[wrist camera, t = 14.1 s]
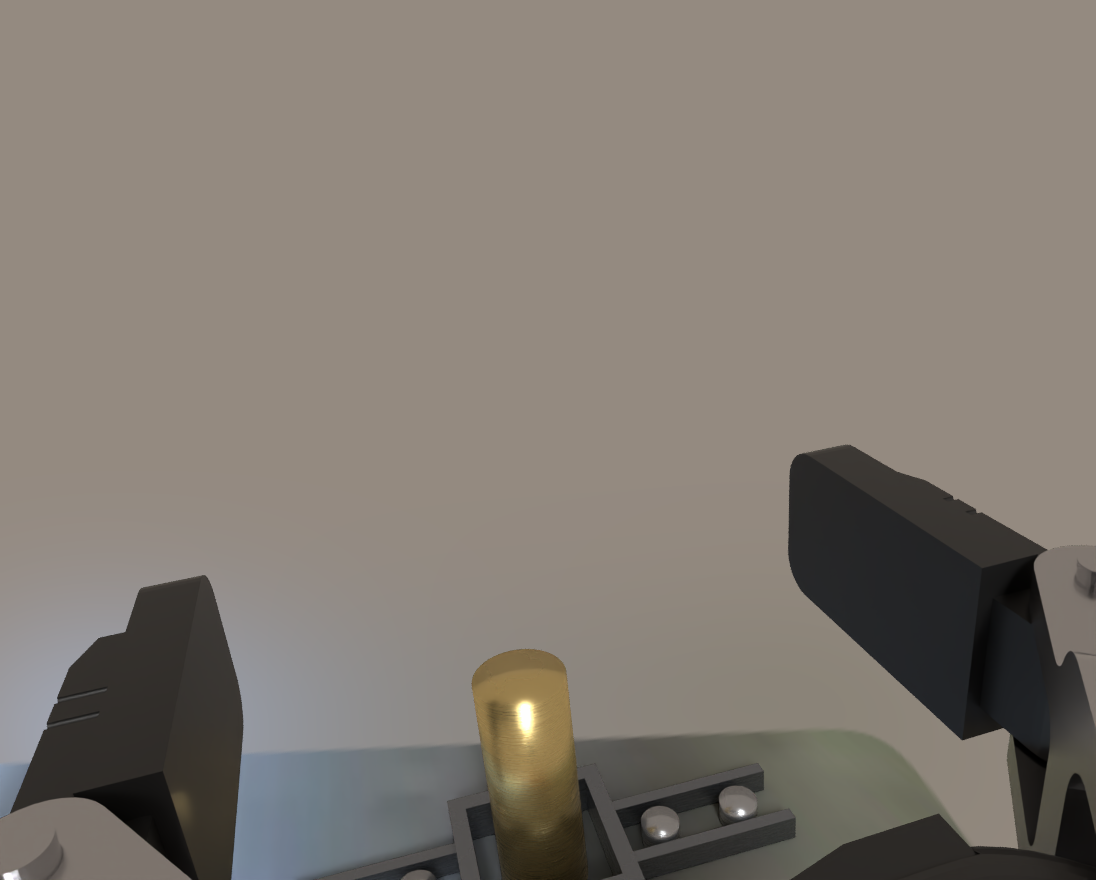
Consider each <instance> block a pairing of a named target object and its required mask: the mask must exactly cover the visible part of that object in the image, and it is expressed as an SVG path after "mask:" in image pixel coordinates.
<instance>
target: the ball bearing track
mask: <svg viewBox="0 0 1096 880" xmlns="http://www.w3.org/2000/svg"><path fill="white" fill-rule="evenodd" d="M577 774H578V783H579V792H580V802H581V811H584V810H588V811H589V814H590V816H591V819H592V822H593V824H594V827H595V829H596V832H597V834H598V837H599V840H600V842H601V845H602V847H603V850H604V853H605V855H606V858H607V860H608V863H609V865H610V868H611V871H612V873H613V877H609V878H605V879H602V880H646V879H650V878H653V877H657V876H660V875H664V874H667V873H671V872H674V871H678V870H681V869H685V868H689V867H692V866H696V865H699V864H703V863H706V862H710V861H713V860H717V859H720V858H724V857H727V856H731V855H734V854H738V853H741V852H745V851H748V850H752V849H756V848H759V847H763V846H766V845H770V844H773V843H777V842H780V841H784V840H787V839H791V838H794V837H795V821H796V818H795V816H794V815H793V813H792V812H791V810H790V809H785V810H781V811H778V812H774V813H770V814H767V815H763V816H760V817H757V797H756V795H755V794H754V793H753V792H757V791H761V790H764V771H763V769H762V768H761V767H760V765H759V764H758V763H756V764H752V765H748V766H745V767H741V768H737V769H733V770H729V771H726V772H722V773H718V774H714V775H710V776H707V777H703V778H699V779H695V780H691V781H688V782H684V783H680V784H676V785H672V786H669V787H665V788H661V789H657V790H653V791H650V792H646V793H642V794H638V795H634V796H631V797H627V798H623V799H619V800H615V801H611V799H610V796H609V794H608V792H607V789H606V787H605V785H604V782H603V780H602V778H601V775H600V773H599V771H598V768H597V766H596V764H591V765H587V766H583V767H580V768H577ZM716 802H719V813H720V822H721V824H722V825H723V827H720V828H716V829H713V830H709V831H705V832H702V833H698V834H694V835H691V836H687V837H684V838H680V827H679V817H678V815H677V814H676V813H679V812H683V811H687V810H691V809H694V808H698V807H702V806H705V805H709V804H713V803H716ZM447 803H448V808H449V814H450V820H451V825H452V831H453V837H454V842H455V843H452V844H448V845H444V846H441V847H437V848H433V849H429V850H425V851H422V852H418V853H414V854H410V855H406V856H403V857H399V858H395V859H391V860H387V861H384V862H380V863H376V864H372V865H368V866H365V867H361V868H357V869H353V870H350V871H346V872H342V873H338V874H334V875H331V876H327V877H323V878H319V879H315V880H436V878H439V877H442V876H446V875H450V874H454V873H457V872H460V875H461V880H480V876H479V871H478V866H477V861H476V856H475V851H474V846H473V842H472V840H474V839H478V838H481V837H485V836H489V835H493V834H495V829H494V823H493V817H492V810H491V804H490V798H489V791H485V792H481V793H477V794H473V795H469V796H465V797H461V798H457V799H453V800H449V801H447ZM639 823H641V828H642V841H643V845H644V847H645V848H644V849H640V850H637V851H633V850H632V848H631V846H630V843H629V841H628V839H627V836H626V834H625V831H624V829H623V828H624V827H628V826H631V825H635V824H639Z"/></svg>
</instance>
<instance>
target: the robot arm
mask: <svg viewBox="0 0 1096 880" xmlns="http://www.w3.org/2000/svg"><path fill="white" fill-rule="evenodd" d="M789 487H790V489H789V541H788V544H789V545H788V555H789V561H790V567H791V570H792V573H793V576H794V578H795V580H796V583H797V584H798V586H799V588H800V589H801V591H802V592H803V593H804V594H805V595H806V596H807V597H808V598H809V599H810V600H811V601H812V602H813V603H814V604H815V605H816V606H818V607H819V608H820V609H821V610H822V611H823V612H824V613H825V614H826V615H827V616H829V618H831V619H832V620H833V621H834V622H835V623H836V624H837V625H838V626H839V627H840V628H841V629H842V630H844V631H845V632H846V633H847V634H848V635H849V636H850V637H851V638H852V639H853V640H854V641H855V642H857V643H858V644H859V645H860V646H861V647H862V648H863V649H864V650H865V651H866V652H867V653H868V654H869V655H870V656H872V657H873V658H874V659H875V660H876V661H877V662H878V663H879V664H880V665H881V666H882V667H883V668H885V669H886V670H887V671H888V672H889V673H890V674H891V675H892V676H893V677H894V678H895V679H896V680H897V681H899V682H900V683H901V684H902V685H903V686H904V687H905V688H906V689H907V690H908V691H909V692H910V693H912V694H913V695H914V696H915V697H916V698H917V699H918V700H919V701H920V702H921V703H922V704H923V705H925V706H926V707H927V708H928V709H929V710H930V711H931V712H932V713H933V714H934V715H935V716H936V717H937V718H939V719H940V720H941V721H942V722H943V723H944V724H945V725H946V726H947V727H948V728H949V729H950V730H951V731H953V732H954V733H955V734H956V735H957V736H958V737H959V738H960V739H961V740H965V739H968V738H971V737H975V736H978V735H982V734H985V733H988V732H992V731H995V730H998V729H1001V728H1004V729H1006V730H1007V731H1008V732H1009V733H1010V738H1009V744H1008V752H1007V765H1008V772H1009V780H1010V788H1011V795H1012V803H1013V811H1014V818H1015V825H1016V833H1017V841H1018V849H1015V848H1007V847H984V846H976V847H969V846H968V844H967V843H966V842H965V841H964V840H963V839H962V838H961V837H960V836H959V835H958V834H957V833H956V832H955V831H954V829H953V828H952V827H951V826H950V825H949V824H948V823H947V822H946V821H945V820H944V819H943V818H942V817H941V815H940V814H936V815H933V816H930V817H927V818H924V819H921V820H918V821H914V822H911V823H908V824H905V825H902V826H899V827H896V828H893V829H890V830H886V831H883V832H880V833H877V834H874V835H871V836H868V837H865V838H862V839H858V840H855V841H852V842H849V843H846V844H843V845H842V846H840V847H839V848H837V849H836V850H834V851H833V852H831V853H830V854H828V855H827V856H825V857H824V858H822V859H821V860H819V861H818V862H816V863H815V864H813V865H812V866H810V867H809V868H807V869H806V870H804V871H803V872H801V873H800V874H798V875H797V876H795V877H794V878H792V879H791V880H1096V546H1088V545H1074V546H1073V545H1071V546H1062V547H1058V548H1053V549H1050V550H1047V549H1045V548H1043V547H1041V546H1040V545H1038V544H1036V543H1034V542H1033V541H1031V540H1029V539H1027V538H1026V537H1024V536H1022V535H1020V534H1018V533H1017V532H1015V531H1013V530H1012V529H1010V528H1008V527H1006V526H1004V525H1003V524H1001V523H999V522H997V521H996V520H994V519H992V518H990V517H989V516H987V515H985V514H983V513H976V509H974V508H973V507H971V506H969V505H967V504H966V503H964V502H962V501H960V500H959V499H957V500H954V499H953V496H952V495H950V494H948V493H946V492H945V491H943V490H941V489H940V488H938V487H936V486H934V485H932V484H931V483H929V482H927V481H925V480H922V479H919V478H915V477H912V476H909V475H905V474H902V473H899V472H896V471H894V470H893V469H891V468H889V467H888V466H886V465H884V464H882V463H880V462H879V461H877V460H876V459H874V458H872V457H870V456H869V455H867V454H865V453H864V452H862V451H860V450H858V449H857V448H855V447H853V446H851V445H843V446H837V447H832V448H827V449H822V450H818V451H813V452H808V453H803V454H799V455H797V456H796V457H795V458H794V460H793V462H792V464H791V468H790V485H789ZM57 699H58V703H57V704H54V707H53V709H52V712H51V714H50V717H49V719H48V721H47V730H44V731H43V734H42V736H41V739H40V741H39V744H38V746H37V749H36V751H35V753H34V756H33V758H32V761H31V763H30V766H29V768H28V771H27V773H26V775H25V778H24V780H23V783H22V785H21V788H20V790H19V793H18V795H17V798H16V800H15V802H14V805H13V807H12V810H11V812H10V814H9V815H7V816H5V817H2V818H1V819H0V880H231V875H232V863H233V850H234V838H235V826H236V813H237V801H238V789H239V776H240V764H241V752H242V739H243V711H242V702H241V695H240V690H239V685H238V680H237V676H236V673H235V669H234V665H233V662H232V658H231V654H230V651H229V647H228V644H227V640H226V636H225V633H224V629H223V625H222V622H221V618H220V614H219V610H218V607H217V603H216V599H215V596H214V592H213V589H212V586H211V584H210V582H209V580H208V578H207V577H206V576H205V575H202V576H198V577H193V578H188V579H183V580H178V581H173V582H168V583H163V584H158V585H154V586H149V587H144V588H141V589H140V590H139V593H138V595H137V598H136V601H135V604H134V607H133V611H132V614H131V617H130V620H129V623H128V626H127V629H126V632H124V633H120V634H115V635H110V636H106V637H101V638H98V639H97V640H96V641H95V642H94V643H93V645H91V647H89V648H88V650H87V651H86V652H85V653H84V654H83V655H82V656H81V657H80V658H79V659H78V660H77V661H76V662H75V663H74V664H73V665H72V666H71V667H70V668H69V670H68V672H67V675H66V678H65V680H64V682H63V685H62V687H61V690H60V692H59V694H58V697H57Z"/></svg>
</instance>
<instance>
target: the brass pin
mask: <svg viewBox="0 0 1096 880" xmlns="http://www.w3.org/2000/svg"><path fill="white" fill-rule="evenodd" d="M472 690H473V696H474V703H475V709H476V715H477V722H478V727H479V734H480V741H481V747H482V753H483V760H484V766H485V772H486V779H487V785H488V791H489V798H490V804H491V810H492V817H493V823H494V829H495V836H496V842H497V848H498V855H499V861H500V867H501V874H502V880H587V878H588V865H587V856H586V847H585V838H584V829H583V820H582V811H581V802H580V792H579V783H578V774H577V765H576V756H575V747H574V738H573V730H572V720H571V711H570V701H569V692H568V683H567V674H566V668H565V666H564V664H563V663H562V661H561V660H559V659H558V658H557V657H556V656H554V655H552V654H550V653H547V652H544V651H540V650H534V649H520V650H513V651H508V652H504V653H502V654H499V655H496V656H494V657H492V658H490V659H489V660H487V661H486V662H484V663H483V664H482V665H481V666H480V667H479V668H478V669H477V670H476V672H475V673H474V675H473V679H472Z"/></svg>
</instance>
